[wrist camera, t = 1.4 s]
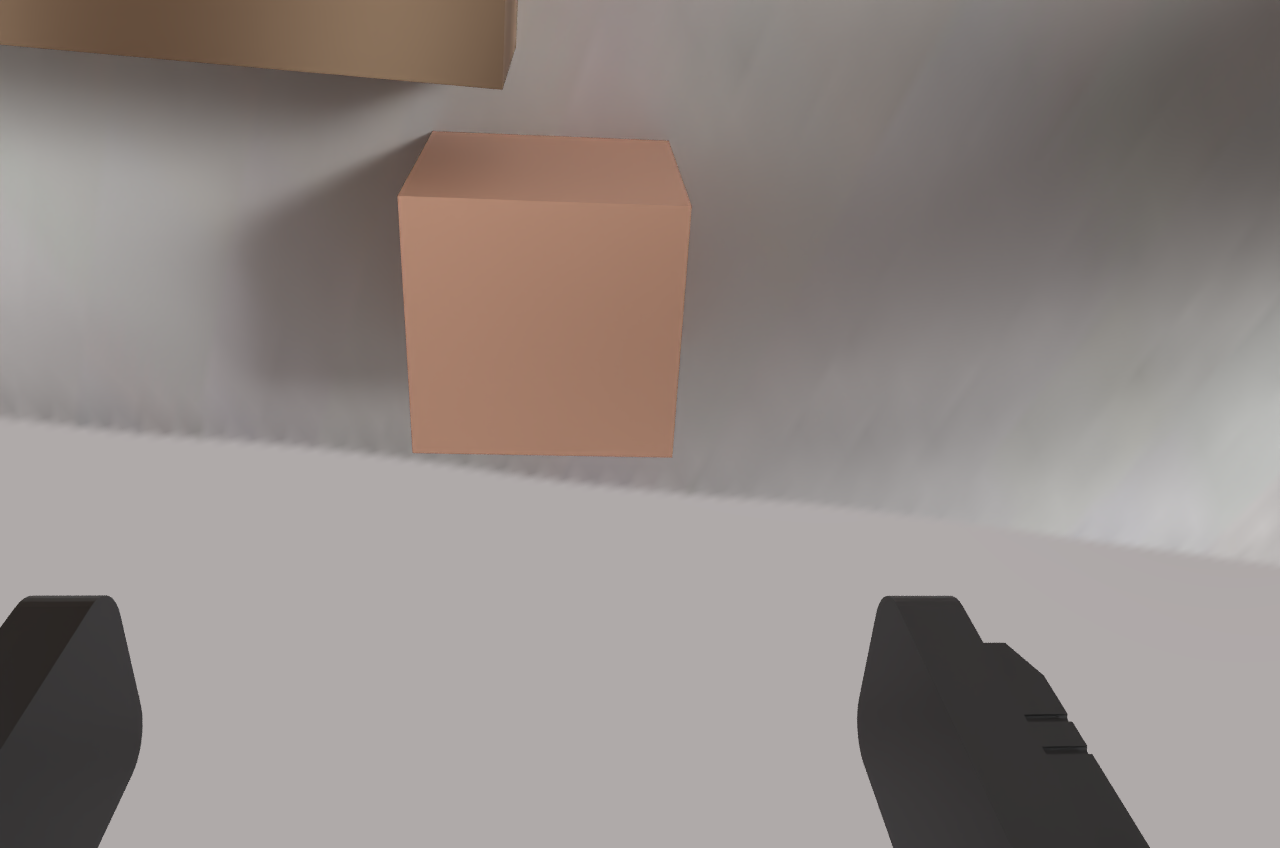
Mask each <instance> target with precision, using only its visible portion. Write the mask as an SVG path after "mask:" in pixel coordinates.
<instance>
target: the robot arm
mask: <svg viewBox="0 0 1280 848" xmlns="http://www.w3.org/2000/svg"><path fill="white" fill-rule="evenodd" d="M857 728H858V739H859V746H860V751H861V756H862V760H863V763H864V765H865V768H866V772H867V774H868V777H869V780H870V783H871V786H872V789H873V791H874V794H875V797H876V800H877V803H878V806H879V809H880V811H881V814H882V817H883V820H884V823H885V826H886V828H887V831H888V834H889V837H890V840H891V843H892V846H893V848H1150V847H1149V845H1148V844H1147V842H1146V841H1145V839H1144V837H1143V836H1142V834H1141V833H1140V831H1139V829H1138V828H1137V826H1136V825H1135V823H1134V821H1133V820H1132V818H1131V816H1130V815H1129V813H1128V811H1127V810H1126V808H1125V807H1124V805H1123V803H1122V802H1121V800H1120V799H1119V797H1118V795H1117V794H1116V792H1115V790H1114V789H1113V787H1112V786H1111V784H1110V783H1109V781H1108V779H1107V778H1106V776H1105V774H1104V773H1103V771H1102V769H1101V768H1100V766H1099V765H1098V763H1097V761H1096V760H1095V758H1094V756H1093V755H1092V754H1088V753H1087V745H1086V743H1085V742H1084V740H1083V739H1082V737H1081V735H1080V734H1079V732H1078V730H1077V729H1076V727H1075V726H1074V724H1073V722H1068V719H1067V713H1066V711H1065V709H1064V708H1063V706H1062V704H1061V703H1060V701H1059V700H1058V698H1057V696H1056V695H1055V693H1054V692H1053V690H1052V688H1051V687H1050V685H1049V683H1048V682H1047V680H1046V679H1045V677H1044V675H1042V674H1041V673H1040V672H1039V671H1038V670H1036V669H1035V668H1034V667H1033V666H1032V665H1031V664H1029V663H1028V662H1027V661H1025V659H1023V658H1022V657H1021V656H1020V655H1019V654H1017V653H1016V652H1015V651H1014V650H1013V649H1012V648H1010V647H1009V646H1008V645H1007V644H1006V643H983V642H982V640H981V638H980V636H979V634H978V633H977V631H976V629H975V627H974V625H973V624H972V622H971V620H970V618H969V617H968V615H967V613H966V611H965V610H964V608H963V606H962V605H961V603H960V601H958V599H957V598H955V597H953V596H886V597H884V598H883V599H882V600H881V602H880V604H879V606H878V609H877V613H876V618H875V622H874V628H873V632H872V637H871V642H870V647H869V653H868V657H867V662H866V667H865V672H864V677H863V682H862V687H861V692H860V697H859V703H858V714H857ZM141 738H142V710H141V705H140V700H139V695H138V691H137V687H136V682H135V678H134V673H133V669H132V665H131V661H130V656H129V651H128V647H127V642H126V638H125V634H124V630H123V625H122V621H121V616H120V613H119V609H118V607H117V604H116V603H115V601H114V600H113V599H112V598H111V597H109V596H28V597H26V598H24V599H23V600H22V601H20V602H19V604H18V605H17V606H16V608H14V610H13V611H12V613H11V614H10V615H9V617H8V618H7V619H6V621H5V622H4V623H3V625H2V626H1V627H0V848H98V846H99V844H100V842H101V840H102V837H103V835H104V833H105V831H106V829H107V826H108V825H109V823H110V820H111V818H112V816H113V814H114V812H115V810H116V808H117V805H118V803H119V801H120V799H121V797H122V795H123V793H124V791H125V789H126V786H127V784H128V782H129V780H130V778H131V776H132V773H133V771H134V769H135V766H136V763H137V759H138V755H139V751H140V746H141Z"/></svg>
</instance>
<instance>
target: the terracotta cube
mask: <svg viewBox="0 0 1280 848" xmlns="http://www.w3.org/2000/svg"><path fill="white" fill-rule="evenodd" d="M397 197H398V214H399V231H400V248H401V265H402V281H403V298H404V315H405V332H406V349H407V366H408V383H409V400H410V416H411V433H412V450H413V453H442V454H499V455H557V456H615V457H672V453H673V440H674V427H675V414H676V401H677V389H678V376H679V363H680V350H681V337H682V324H683V311H684V299H685V286H686V273H687V260H688V247H689V234H690V222H691V209H692V206H691V203H690V200H689V197H688V195H687V192H686V189H685V186H684V183H683V180H682V178H681V175H680V172H679V169H678V166H677V163H676V161H675V158H674V155H673V152H672V149H671V146H670V144H669V141H664V140H639V139H614V138H589V137H565V136H540V135H515V134H490V133H465V132H440V131H433V132H432V133H431V135H430V137H429V139H428V141H427V143H426V144H425V146H424V148H423V150H422V152H421V154H420V155H419V157H418V159H417V161H416V163H415V165H414V166H413V168H412V170H411V172H410V174H409V176H408V177H407V179H406V181H405V183H404V185H403V187H402V188H401V190H400V192H399V194H398V196H397Z"/></svg>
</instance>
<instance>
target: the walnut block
mask: <svg viewBox="0 0 1280 848" xmlns="http://www.w3.org/2000/svg"><path fill="white" fill-rule="evenodd" d="M517 5H518V0H0V45H10V46H21V47H32V48H44V49H55V50H66V51H77V52H88V53H99V54H111V55H122V56H133V57H144V58H155V59H166V60H177V61H189V62H200V63H211V64H222V65H233V66H244V67H255V68H267V69H278V70H289V71H300V72H311V73H322V74H333V75H345V76H356V77H367V78H378V79H389V80H400V81H411V82H423V83H434V84H445V85H456V86H467V87H478V88H489V89H501V90H502V89H503V86H504V83H505V80H506V76H507V73H508V70H509V67H510V64H511V61H512V57H513V54H514V51H515V48H516V31H517Z"/></svg>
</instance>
